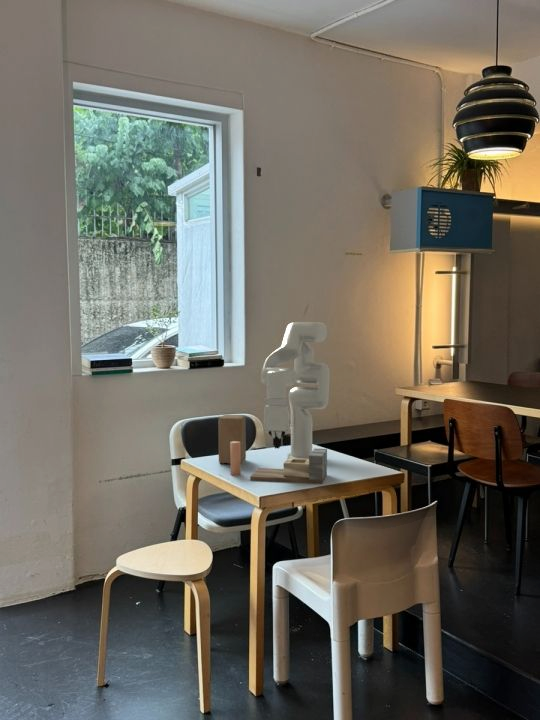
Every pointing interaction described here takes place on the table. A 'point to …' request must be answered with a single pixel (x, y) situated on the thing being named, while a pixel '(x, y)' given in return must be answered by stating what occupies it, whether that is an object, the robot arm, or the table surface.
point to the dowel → (235, 458)
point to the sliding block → (296, 467)
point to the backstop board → (315, 476)
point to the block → (231, 436)
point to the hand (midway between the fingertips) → (277, 447)
